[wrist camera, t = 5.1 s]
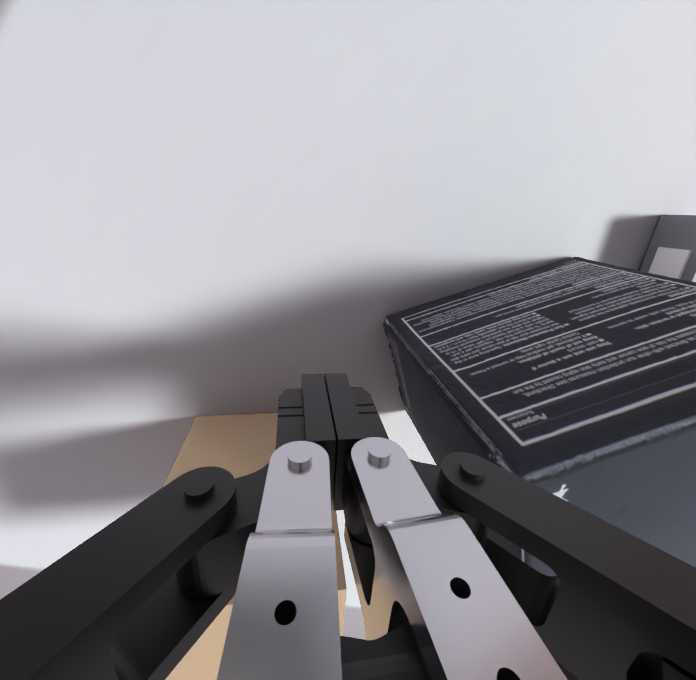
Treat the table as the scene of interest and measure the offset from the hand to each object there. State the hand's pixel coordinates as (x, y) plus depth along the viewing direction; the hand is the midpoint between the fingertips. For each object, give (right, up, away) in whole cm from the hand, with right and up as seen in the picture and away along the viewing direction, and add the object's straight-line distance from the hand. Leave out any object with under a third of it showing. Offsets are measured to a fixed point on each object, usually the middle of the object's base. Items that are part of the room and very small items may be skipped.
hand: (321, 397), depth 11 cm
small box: (+8, +2, +6) cm, 11 cm away
